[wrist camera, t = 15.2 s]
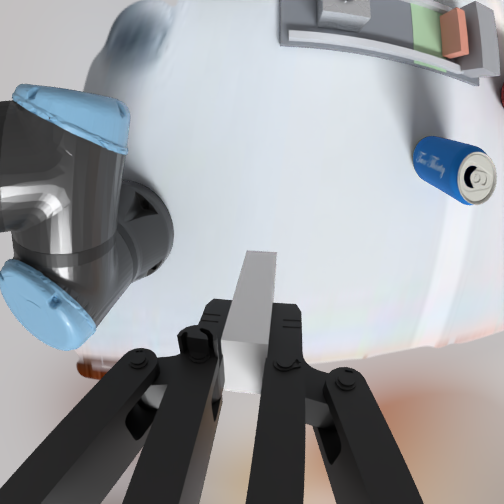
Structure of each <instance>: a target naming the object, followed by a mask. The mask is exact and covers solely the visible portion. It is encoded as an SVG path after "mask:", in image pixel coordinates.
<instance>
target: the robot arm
mask: <svg viewBox="0 0 504 504" xmlns="http://www.w3.org/2000/svg"><path fill="white" fill-rule="evenodd" d="M12 98H13V100H12V101H1V102H0V232H8V231H11V233H12V241H13V249H14V257H13V259H9V260H8V261H6V262H5V264H4V266H3V267H2V270H1V271H0V289H1V292H2V295H3V297H4V299H5V301H6V303H7V305H8V307H9V308H10V310H11V311H12V313H13V314H14V316H15V317H16V318H17V319H18V321H19V322H20V323H21V324H22V325H23V326H24V327H25V328H26V329H27V330H28V331H29V332H30V333H31V334H32V335H34V336H35V337H36V338H38V339H39V340H40V341H42V342H44V343H45V344H47V345H49V346H51V347H53V348H56V349H59V350H64V351H69V350H73V349H77V348H79V347H80V346H81V345H82V344H83V343H84V342H85V341H86V340H87V339H88V338H89V337H90V336H91V335H93V334H94V333H95V331H96V328H97V326H98V325H99V324H100V322H101V321H102V320H103V319H104V317H105V316H106V315H107V313H108V312H109V311H110V309H111V308H112V307H113V305H114V304H115V303H116V302H117V300H118V299H119V298H120V297H121V295H122V294H123V293H124V292H125V290H126V289H127V288H128V286H129V285H130V284H131V283H132V282H135V281H137V280H139V279H141V278H144V277H146V276H148V275H150V274H152V273H154V272H155V271H156V270H157V269H158V268H159V267H160V266H161V265H162V264H163V263H164V261H165V260H166V259H167V257H168V256H169V254H170V251H171V249H172V245H173V239H174V231H173V224H172V220H171V217H170V215H169V212H168V210H167V208H166V207H165V205H164V204H163V202H162V201H161V199H160V198H159V197H158V196H157V195H156V194H155V193H154V192H153V191H151V190H150V189H149V188H147V187H145V186H144V185H141V184H139V183H136V182H133V181H122V174H123V168H124V162H125V156H126V155H127V153H128V148H127V140H128V132H129V124H130V112H129V109H128V107H127V106H126V105H125V104H124V103H123V102H122V101H120V100H118V99H114V98H110V97H106V96H101V95H97V94H92V93H86V92H81V91H75V90H69V89H63V88H56V87H47V86H39V85H30V84H20V85H19V86H17V87H16V90H15V92H14V93H13V94H12ZM276 257H277V252H262V251H247V252H246V256H245V259H244V262H243V266H242V269H241V273H240V276H239V279H238V283H237V286H236V290H235V293H234V296H233V300H223V299H213V300H212V301H210V302H209V303H208V304H207V305H206V307H205V309H204V312H203V315H202V317H201V319H200V322H199V324H198V325H193V326H189V327H186V328H185V329H183V330H181V331H180V332H179V334H178V335H177V337H178V343H179V348H180V354H178V355H176V356H170V357H159V358H157V356H156V355H155V353H154V352H152V351H151V350H149V349H145V348H137V349H133V350H131V351H129V352H127V353H126V354H125V355H124V356H123V357H122V358H121V359H120V360H119V361H118V362H117V363H116V364H115V365H114V366H113V367H112V368H111V369H110V370H109V371H108V372H107V373H106V374H105V375H104V376H103V378H102V379H101V380H100V381H99V382H98V383H97V384H96V385H95V386H94V387H93V388H92V389H91V390H90V391H89V392H88V393H87V394H86V396H84V398H83V399H82V400H81V401H80V402H79V403H78V404H77V405H76V406H75V407H74V408H73V409H72V410H71V411H70V413H69V414H68V415H67V416H66V417H65V418H64V419H63V420H62V421H61V422H60V423H59V424H58V425H57V427H56V428H55V429H54V430H53V431H52V432H51V433H50V434H49V435H48V436H47V437H46V439H45V440H44V441H43V442H42V443H41V444H40V445H39V446H38V447H37V448H36V449H35V451H34V452H33V453H32V454H31V455H30V456H29V457H28V458H27V459H26V460H25V462H24V463H23V464H22V465H21V466H20V467H19V468H18V469H17V471H16V472H15V473H14V474H13V475H12V476H11V477H10V478H9V480H8V481H7V482H6V483H5V484H4V485H3V486H2V487H1V489H0V504H100V503H101V502H102V501H103V499H104V498H105V497H106V496H107V494H108V493H109V492H110V490H111V489H112V488H113V486H114V485H115V484H116V482H117V481H118V480H119V478H120V477H121V475H122V474H123V473H124V472H125V470H126V469H127V467H128V466H129V465H130V463H131V462H132V461H133V459H134V458H135V457H136V455H137V454H138V453H139V451H140V450H141V448H142V447H143V449H142V451H141V454H140V457H139V460H138V462H137V465H136V467H135V470H134V473H133V476H132V478H131V482H130V484H129V487H128V489H127V492H126V495H125V498H124V500H123V503H122V504H199V502H200V498H201V493H202V489H203V485H204V480H205V476H206V472H207V468H208V463H209V459H210V454H211V450H212V446H213V441H214V437H215V433H216V428H217V424H218V419H219V415H220V411H221V406H222V391H223V387H224V388H225V390H226V391H234V392H243V393H253V394H261V397H260V406H259V413H258V421H257V429H256V436H255V444H254V450H253V457H252V464H251V472H250V478H249V485H248V491H247V498H246V504H303V497H304V473H305V472H304V471H305V423H306V424H309V425H312V426H313V429H314V432H315V436H316V439H317V442H318V445H319V449H320V451H321V455H322V458H323V461H324V465H325V468H326V471H327V474H328V477H329V481H330V484H331V487H332V491H333V494H334V497H335V500H336V503H337V504H423V501H422V499H421V496H420V494H419V492H418V489H417V487H416V485H415V483H414V480H413V478H412V476H411V474H410V471H409V469H408V467H407V465H406V463H405V460H404V458H403V456H402V454H401V452H400V450H399V448H398V445H397V443H396V441H395V439H394V437H393V435H392V433H391V431H390V429H389V427H388V425H387V423H386V420H385V418H384V416H383V414H382V412H381V410H380V408H379V406H378V404H377V402H376V400H375V398H374V396H373V394H372V392H371V390H370V388H369V386H368V384H367V382H366V380H365V378H364V377H363V376H362V375H361V373H360V372H358V371H356V370H355V369H352V368H348V367H339V368H336V369H334V370H332V371H331V372H330V373H326V372H322V371H319V370H316V369H314V368H312V367H311V366H309V365H308V364H307V363H306V362H305V360H304V358H303V354H302V322H301V311H300V309H299V308H298V306H297V305H296V304H284V303H273V302H274V288H275V273H276Z"/></svg>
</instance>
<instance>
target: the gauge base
mask: <svg viewBox="0 0 504 504" xmlns="http://www.w3.org/2000/svg"><path fill="white" fill-rule="evenodd" d="M452 9H454V8H451V7H449V6H446V5H444V4H441V3H439V2H436V1H433V0H370V12H371V18H370V20H369V21H368V22H367V23H366V24H365V25H364V26H363V27H362V28H361V30H360V31H359V32H355V31H349V30H342V29H335V28H326V27H317V0H281V22H280V46H288V47H305V48H316V49H326V50H335V51H342V52H349V53H356V54H362V55H368V56H373V57H378V58H383V59H388V60H392V61H397V62H401V63H405V64H409V65H413V66H416V67H420V68H423V69H427V70H430V71H434V72H437V73H440V74H443V75H446V76H449V77H452V78H455V79H458V80H460V81H463V82H466V83H468V84H471V85H474V86H479V77H491V76H500V60H499V48H498V39H497V31H496V24H495V18H494V12H493V10H492V9H490V8H488V7H486V6H484V5H482V4H480V3H478V2H476V1H474V2H472V3H470V4H468V5H466V6H464V7H462V8H460V9H462V10H464V12H465V19H466V27H467V36H468V48H469V54H467V55H463V56H459V57H455V58H451V59H449V58H446V57H443V56H442V38H441V26H440V17H439V16H441V15H443V14H445V13H447V12H449V11H450V10H452Z"/></svg>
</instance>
